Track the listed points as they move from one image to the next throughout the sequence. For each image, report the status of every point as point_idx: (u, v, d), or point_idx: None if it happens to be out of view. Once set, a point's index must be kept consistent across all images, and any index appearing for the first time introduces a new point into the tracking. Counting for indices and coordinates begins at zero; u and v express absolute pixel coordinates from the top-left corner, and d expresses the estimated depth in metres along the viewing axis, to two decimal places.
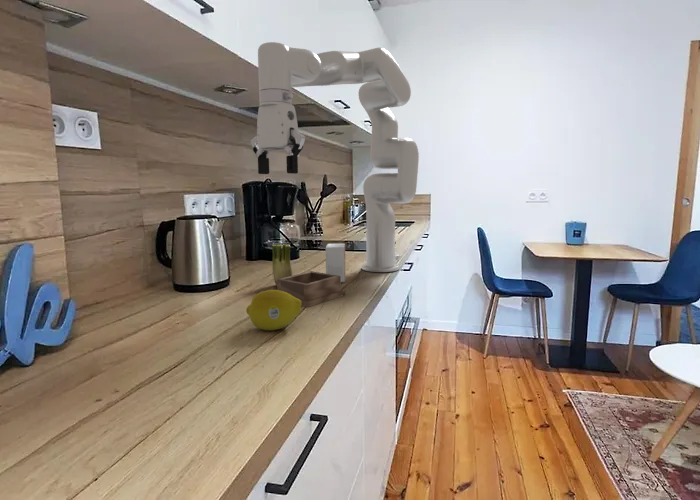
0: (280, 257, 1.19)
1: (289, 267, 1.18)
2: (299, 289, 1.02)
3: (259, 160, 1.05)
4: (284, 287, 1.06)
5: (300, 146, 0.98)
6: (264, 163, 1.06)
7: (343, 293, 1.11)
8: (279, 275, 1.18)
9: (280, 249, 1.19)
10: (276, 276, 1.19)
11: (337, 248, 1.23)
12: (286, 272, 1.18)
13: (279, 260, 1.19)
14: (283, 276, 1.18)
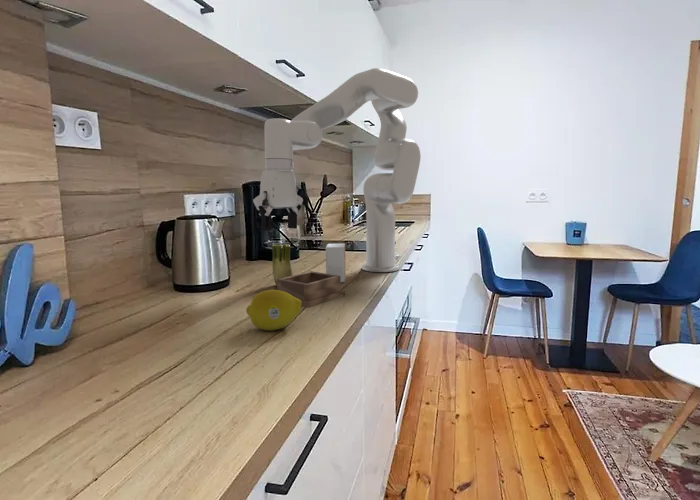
0: (280, 257, 1.19)
1: (289, 267, 1.18)
2: (299, 289, 1.02)
3: (270, 218, 1.13)
4: (284, 287, 1.06)
5: None
6: None
7: (343, 293, 1.11)
8: (279, 275, 1.18)
9: (280, 249, 1.19)
10: (276, 276, 1.19)
11: (337, 248, 1.23)
12: (286, 272, 1.18)
13: (279, 260, 1.19)
14: (283, 276, 1.18)
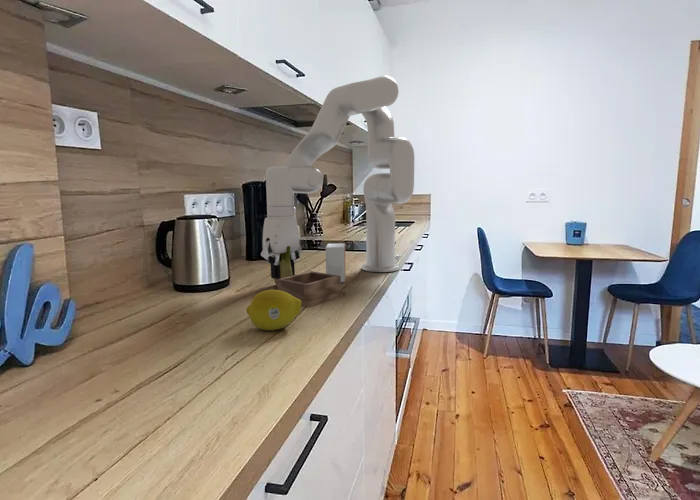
0: (280, 257, 1.19)
1: (289, 267, 1.18)
2: (299, 289, 1.02)
3: (279, 267, 1.17)
4: (284, 287, 1.06)
5: None
6: None
7: (343, 293, 1.11)
8: None
9: None
10: None
11: (337, 248, 1.23)
12: (286, 272, 1.18)
13: (279, 260, 1.19)
14: (283, 276, 1.18)
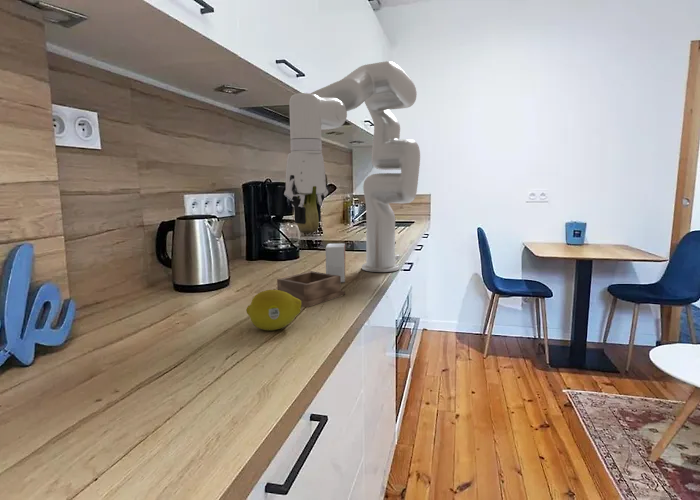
0: (305, 199, 1.05)
1: (315, 210, 1.04)
2: (299, 289, 1.02)
3: (304, 210, 1.03)
4: (284, 287, 1.06)
5: None
6: None
7: (343, 293, 1.11)
8: None
9: None
10: None
11: (337, 248, 1.23)
12: (312, 216, 1.04)
13: (304, 203, 1.05)
14: (308, 220, 1.04)
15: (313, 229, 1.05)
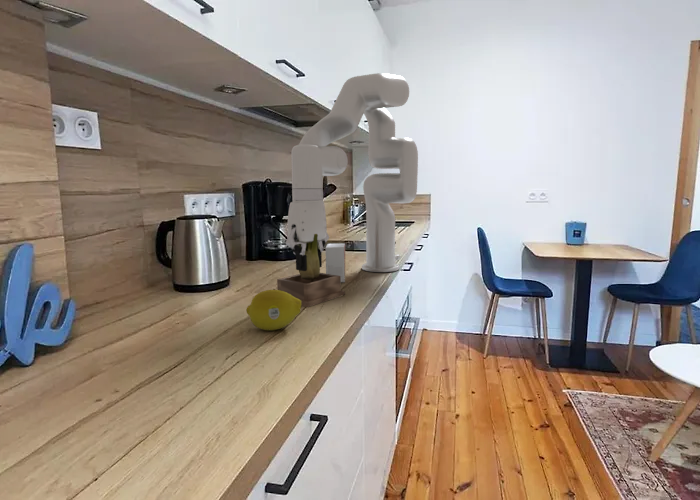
0: (306, 246, 1.07)
1: (316, 257, 1.06)
2: (299, 289, 1.02)
3: (306, 257, 1.05)
4: (284, 287, 1.06)
5: None
6: None
7: (343, 293, 1.11)
8: None
9: None
10: None
11: (337, 248, 1.23)
12: (313, 263, 1.06)
13: (305, 250, 1.07)
14: (310, 267, 1.06)
15: (314, 276, 1.06)
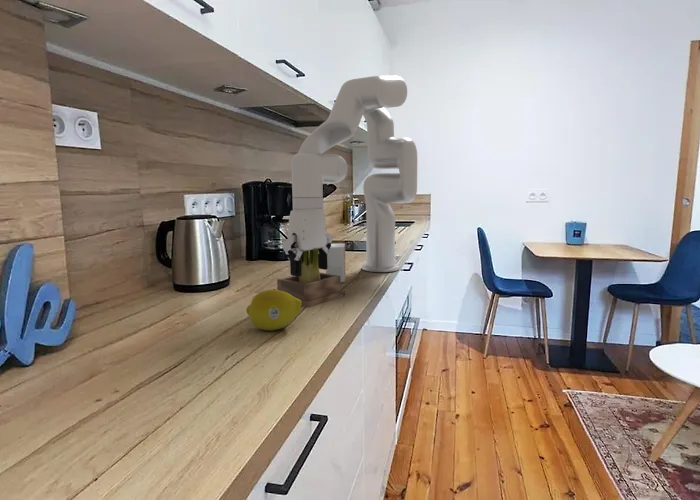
0: (307, 261, 1.08)
1: (317, 272, 1.07)
2: (299, 289, 1.02)
3: (300, 263, 1.03)
4: (284, 287, 1.06)
5: None
6: None
7: (343, 293, 1.11)
8: (306, 281, 1.07)
9: (307, 252, 1.07)
10: (303, 282, 1.07)
11: (337, 248, 1.23)
12: (314, 278, 1.07)
13: (306, 264, 1.08)
14: None
15: None
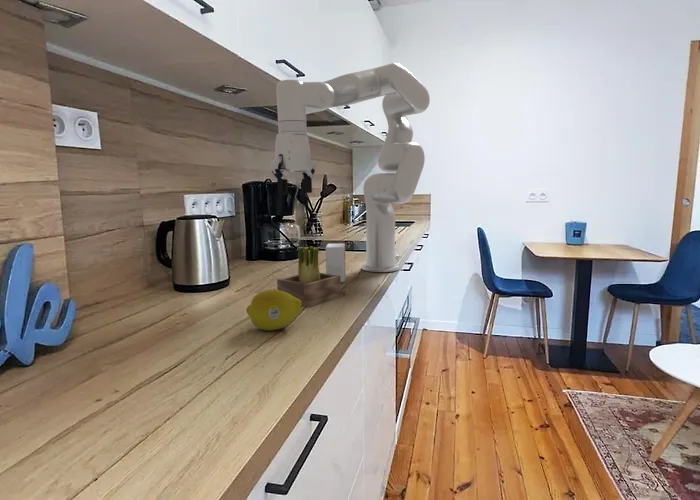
0: (307, 261, 1.08)
1: (317, 272, 1.07)
2: (299, 289, 1.02)
3: (287, 182, 1.12)
4: (284, 287, 1.06)
5: None
6: None
7: (343, 293, 1.11)
8: (306, 281, 1.07)
9: (307, 252, 1.07)
10: (303, 282, 1.07)
11: (337, 248, 1.23)
12: (314, 278, 1.07)
13: (306, 264, 1.08)
14: None
15: None
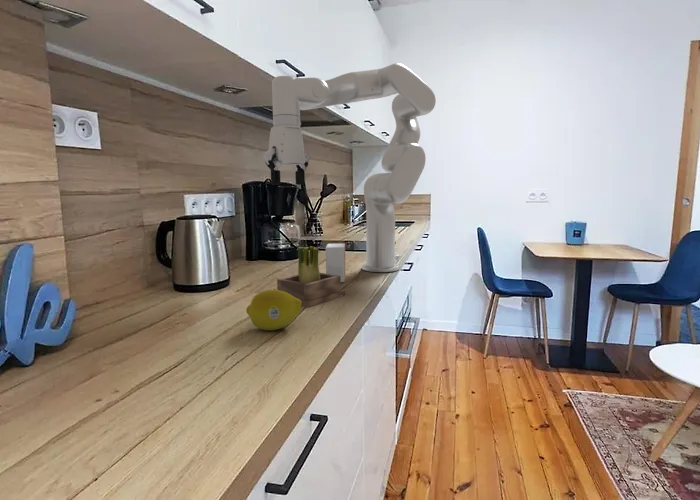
0: (307, 261, 1.08)
1: (317, 272, 1.07)
2: (299, 289, 1.02)
3: (279, 173, 1.18)
4: (284, 287, 1.06)
5: None
6: None
7: (343, 293, 1.11)
8: (306, 281, 1.07)
9: (307, 252, 1.07)
10: (303, 282, 1.07)
11: (337, 248, 1.23)
12: (314, 278, 1.07)
13: (306, 264, 1.08)
14: None
15: None
